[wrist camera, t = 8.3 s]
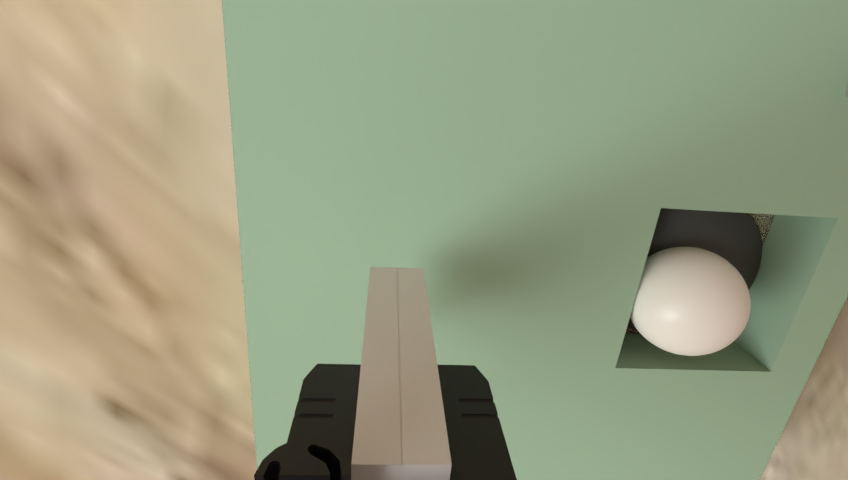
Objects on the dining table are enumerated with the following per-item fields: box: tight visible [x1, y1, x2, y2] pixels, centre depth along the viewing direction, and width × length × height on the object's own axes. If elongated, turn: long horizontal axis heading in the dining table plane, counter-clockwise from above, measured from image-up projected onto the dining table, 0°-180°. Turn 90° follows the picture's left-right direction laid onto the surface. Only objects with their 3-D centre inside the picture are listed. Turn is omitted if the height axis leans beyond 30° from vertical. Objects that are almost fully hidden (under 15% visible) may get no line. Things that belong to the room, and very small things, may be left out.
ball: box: [630, 247, 751, 356], centre depth 17 cm, size 4×4×4 cm
